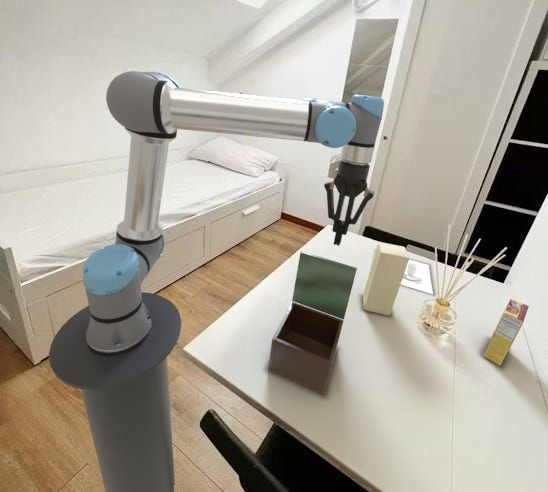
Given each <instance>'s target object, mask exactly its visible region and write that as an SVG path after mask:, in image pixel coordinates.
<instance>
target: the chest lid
mask: <svg viewBox="0 0 548 492" xmlns="http://www.w3.org/2000/svg"><path fill="white" fill-rule="evenodd" d="M357 271H358V268H357V267H356V266H353V265H349V264H346V263H342V262H339V261H336V260H332V259H329V258H325V257H322V256H320V255H315V254H312V253H309V252H305V251H303V250H300V253H299V258H298V265H297V270H296V276H295V281H294V287H293V293H292V299H291V302H295V303H297V304H300V305H303V306H306V307H308V308H311V309H314V310H317V311H319V312H322V313H325V314H328V315H330V316H333V317H336V318H339V319H341V320H345V317H346V313H347V309H348V305H349V301H350V297H351V294H352V289H353V285H354V282H355V277H356V274H357Z"/></svg>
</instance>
